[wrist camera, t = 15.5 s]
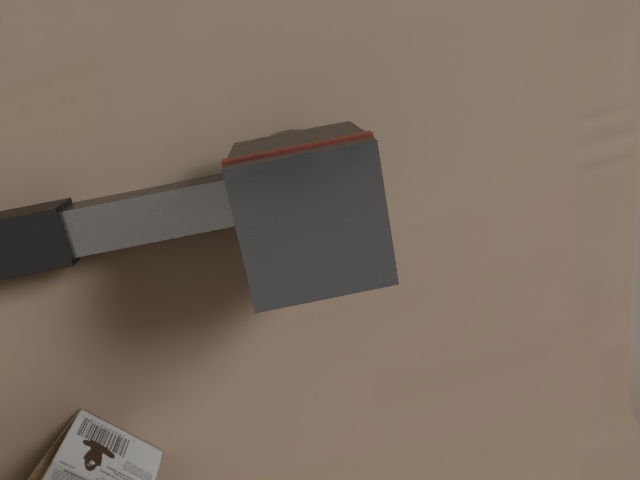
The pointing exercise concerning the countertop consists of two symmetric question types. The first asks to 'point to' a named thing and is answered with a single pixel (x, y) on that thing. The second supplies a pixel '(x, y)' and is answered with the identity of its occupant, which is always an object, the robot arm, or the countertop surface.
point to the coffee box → (97, 453)
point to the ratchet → (109, 223)
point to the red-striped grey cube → (310, 215)
